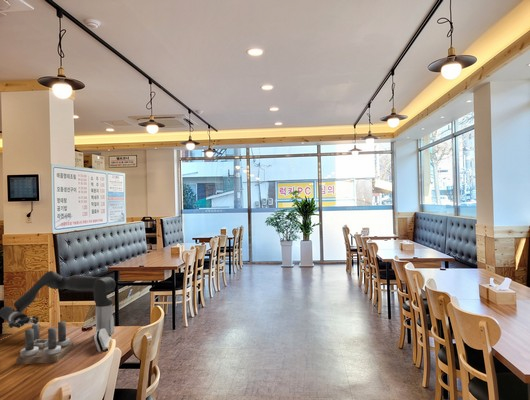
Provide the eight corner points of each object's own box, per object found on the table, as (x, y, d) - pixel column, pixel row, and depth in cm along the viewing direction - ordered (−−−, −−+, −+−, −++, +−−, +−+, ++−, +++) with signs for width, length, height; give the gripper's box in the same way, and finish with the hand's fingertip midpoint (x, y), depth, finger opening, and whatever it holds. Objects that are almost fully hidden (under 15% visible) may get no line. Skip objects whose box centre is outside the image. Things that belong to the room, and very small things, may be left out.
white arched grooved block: (108, 350, 198) (101, 333, 198) (99, 354, 197) (92, 337, 197) (113, 340, 215) (106, 324, 214) (104, 343, 213) (97, 327, 213)
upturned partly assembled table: (73, 347, 204) (73, 319, 204) (57, 362, 185) (57, 331, 185) (36, 349, 202) (36, 321, 203) (16, 364, 184) (15, 333, 184)
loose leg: (40, 345, 209) (40, 323, 209) (37, 347, 205) (37, 325, 205) (34, 345, 208) (33, 323, 209) (30, 348, 205) (30, 325, 205)
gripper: (3, 315, 219) (13, 320, 209) (31, 309, 230) (41, 314, 220) (3, 328, 219) (13, 334, 209) (31, 322, 230) (41, 327, 220)
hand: (27, 324), depth 214 cm, fingers open, 8 cm apart
